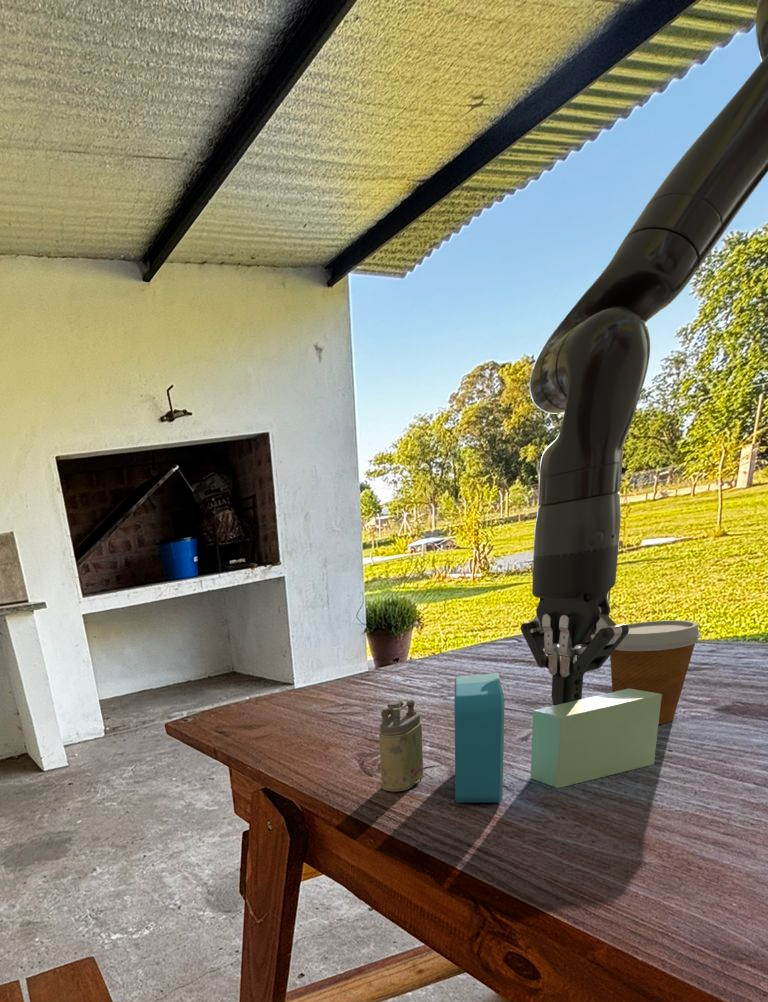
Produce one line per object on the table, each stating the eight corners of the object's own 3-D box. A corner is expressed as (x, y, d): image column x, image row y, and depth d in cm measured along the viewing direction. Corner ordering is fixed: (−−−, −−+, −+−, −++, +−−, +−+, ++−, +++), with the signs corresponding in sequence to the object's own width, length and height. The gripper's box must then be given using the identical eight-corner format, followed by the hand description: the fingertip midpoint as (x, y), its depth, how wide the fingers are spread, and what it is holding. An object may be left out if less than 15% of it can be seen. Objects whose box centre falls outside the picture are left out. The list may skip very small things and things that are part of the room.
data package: (455, 769, 76) (454, 674, 72) (496, 768, 74) (498, 670, 70) (455, 807, 66) (454, 699, 62) (502, 807, 64) (505, 696, 60)
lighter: (401, 771, 79) (398, 695, 75) (431, 773, 76) (429, 695, 73) (376, 790, 74) (371, 711, 71) (407, 794, 72) (403, 712, 68)
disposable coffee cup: (582, 719, 85) (588, 631, 81) (642, 705, 86) (651, 617, 82) (643, 734, 76) (654, 637, 72) (710, 718, 77) (724, 621, 73)
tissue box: (621, 755, 72) (627, 687, 69) (654, 764, 68) (662, 693, 65) (529, 777, 70) (531, 710, 67) (557, 788, 66) (561, 717, 64)
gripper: (665, 535, 59) (646, 710, 65) (558, 544, 71) (551, 691, 77) (595, 549, 58) (582, 725, 64) (499, 555, 70) (497, 703, 76)
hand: (565, 706), depth 70 cm, fingers closed
